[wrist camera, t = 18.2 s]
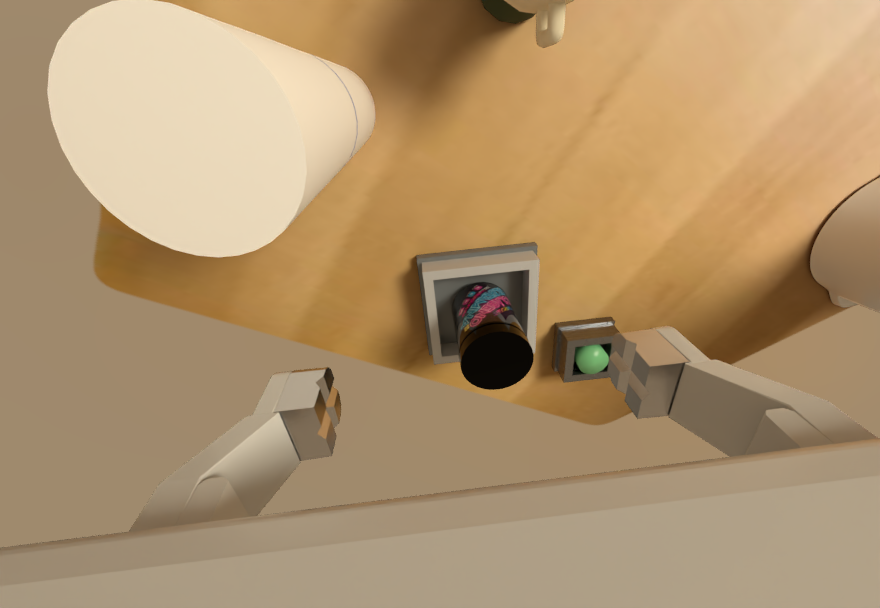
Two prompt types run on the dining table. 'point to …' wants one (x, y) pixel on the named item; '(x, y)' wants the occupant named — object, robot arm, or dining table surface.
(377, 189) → the dining table surface
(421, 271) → the square shallow tray
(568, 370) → the button housing
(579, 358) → the button
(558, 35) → the character mug
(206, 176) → the cylindrical container
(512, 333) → the supplement container
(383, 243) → the dining table surface
